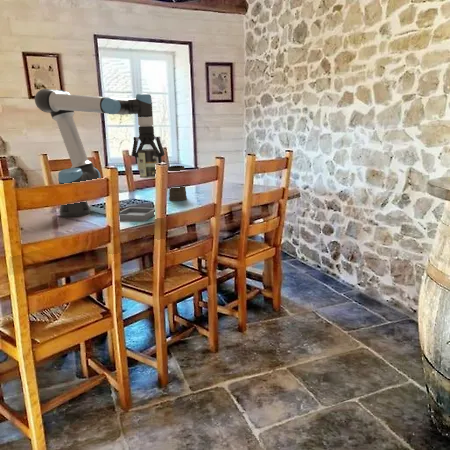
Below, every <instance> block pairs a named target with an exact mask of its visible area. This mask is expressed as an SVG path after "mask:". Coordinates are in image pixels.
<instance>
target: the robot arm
mask: <svg viewBox="0 0 450 450" xmlns="http://www.w3.org/2000/svg"><path fill="white" fill-rule="evenodd" d="M152 100H153V99H152V95H151V94H149V93H137V94H136V95H135V98H119V97H113V96H112V97H111V96H108V97H105V96H95V95H93V96H92V95H84V94H83V95H81V94H70V92H68V91H65V90H62V89H51V88H50V89H49V88H42V89H39V90H38V91H37V92H36V94H35V95H34V103H35V106H36V108H38V110H40V111H41V112H44V113H47V114H50V116H51V119H52V120H53V121H56V124H57V126H58V129H59V132H60V134H61V137H62V141H63V143H64V146H65V149H66V151H67V153H68V156H69V159H70V163H71V167H70V168H65V169H64V168H63V169H62V170H60V171H59V172H58V173H57V174H58V175H57V176H58V178H57V181H58V184H64V183H72V182H80V181H86V180H92V179H97V178H101V177H102V176H101V173H100V171H99V169H97V168H96V167H95V166H94V164H93V162H92V161H90V160H89V159H88V156H87V154H86V151H85V148H84V145H83V142H82V139H81V136H80V133H79V131H78V128H77V125H76V123H75V120H74V115H75V112H84V113H85V112H86V113H97V114H107V115H120V116H121V115H123V116H124V115H137V124H138V136H134V137H133V144H132V150H131V151H132V152H131V156H132V157H135V164H136V165H137V171H140V170H139V158H138V150H143V149H144V146H145V145H149V146H151V149H154V150H156V154H157V156H158V157H156V159H157V163H160V164H162V162H163V161H162V157H164V156H165V151H164V148H163V144H162V143H161V136H155V130H154V127H155V126H153V125H154V115H153V101H152ZM154 140H155V141H156V143H155V142H154ZM139 141H140V142H139ZM138 144H139V146H138ZM156 145H157V146H156ZM101 179H102V178H101ZM90 213H91V207H90V206H89V203H88V202H87V200H86V202H80V203H74V204H67V205H61V204H60V207H59V216H60V217H63V218H73V217H74V218H75V217H82V216H86V215H89V214H90Z"/></svg>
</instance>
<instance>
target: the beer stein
mask: <svg viewBox="0 0 450 450" xmlns="http://www.w3.org/2000/svg"><path fill="white" fill-rule="evenodd" d="M168 170H169V171H180V170H186V168H185V166H184V165H171V166H168V167H167V171H168ZM168 195H169V197H168V199H169V201H174V202H179V201H185V200H187V199H188V196H187V190H186V186H185V187H180V188H171V189H170V188H169V193H168Z"/></svg>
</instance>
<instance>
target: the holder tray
mask: <svg viewBox="0 0 450 450" xmlns="http://www.w3.org/2000/svg"><path fill="white" fill-rule="evenodd" d="M155 208H156V207H127V208H124V209H123V210H121V211H119V212H120V220H119V221H123V222H124V221H126V222H127V221H129V222H130V221H131V222H146V221H148V220H149V219H152V218H153V217H154V216H155V215H154V212H155Z"/></svg>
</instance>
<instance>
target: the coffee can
mask: <svg viewBox="0 0 450 450" xmlns="http://www.w3.org/2000/svg"><path fill="white" fill-rule="evenodd" d="M137 150H138V149H137ZM156 157H158V156H157V154H156V150H154V149H153V148H148V149H146V148H145V149H144V148H142V150H138V158H139V170H138V171H139V178H141V179H155V164H156V163H157V159H156Z"/></svg>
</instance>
